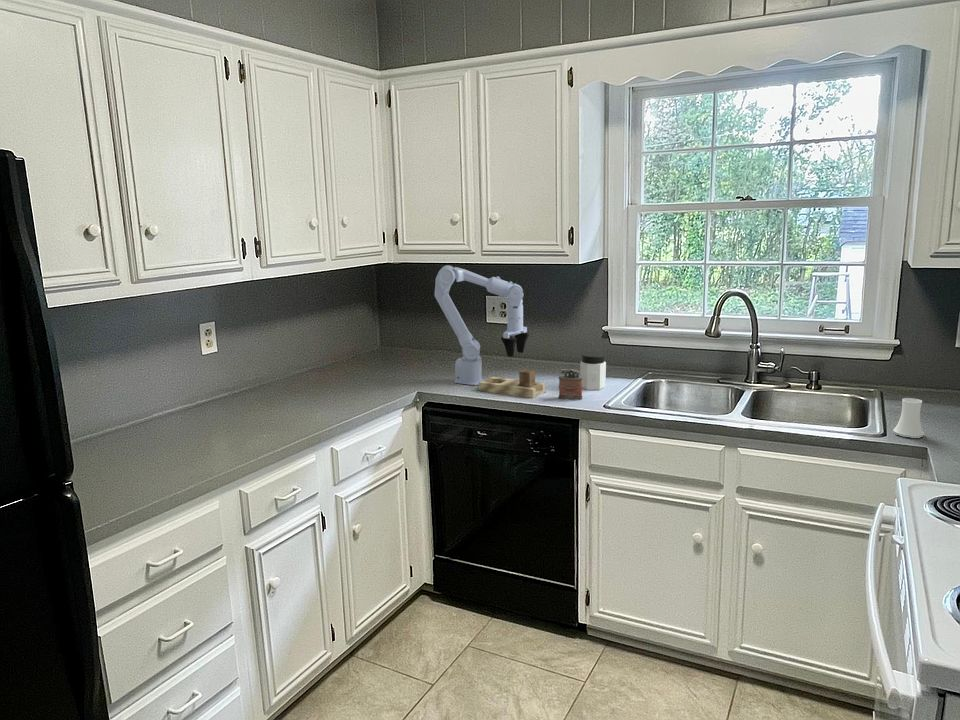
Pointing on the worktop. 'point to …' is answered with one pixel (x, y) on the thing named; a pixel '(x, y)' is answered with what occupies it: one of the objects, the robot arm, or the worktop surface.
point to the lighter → (570, 385)
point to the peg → (527, 378)
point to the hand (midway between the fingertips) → (515, 354)
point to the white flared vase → (910, 418)
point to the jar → (593, 370)
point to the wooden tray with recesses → (510, 387)
